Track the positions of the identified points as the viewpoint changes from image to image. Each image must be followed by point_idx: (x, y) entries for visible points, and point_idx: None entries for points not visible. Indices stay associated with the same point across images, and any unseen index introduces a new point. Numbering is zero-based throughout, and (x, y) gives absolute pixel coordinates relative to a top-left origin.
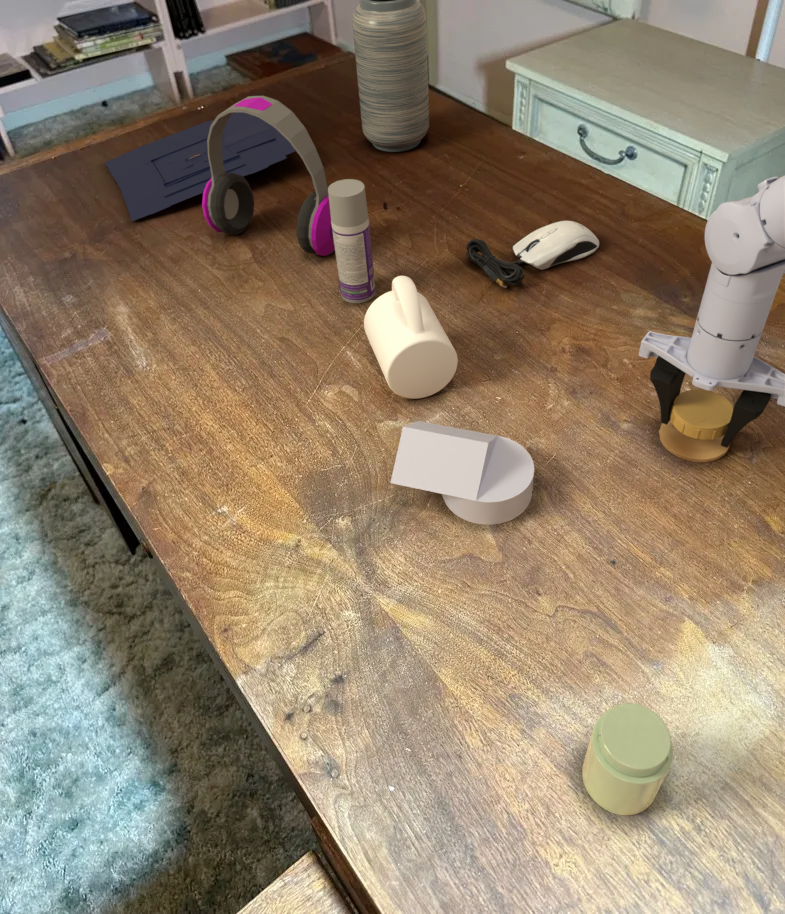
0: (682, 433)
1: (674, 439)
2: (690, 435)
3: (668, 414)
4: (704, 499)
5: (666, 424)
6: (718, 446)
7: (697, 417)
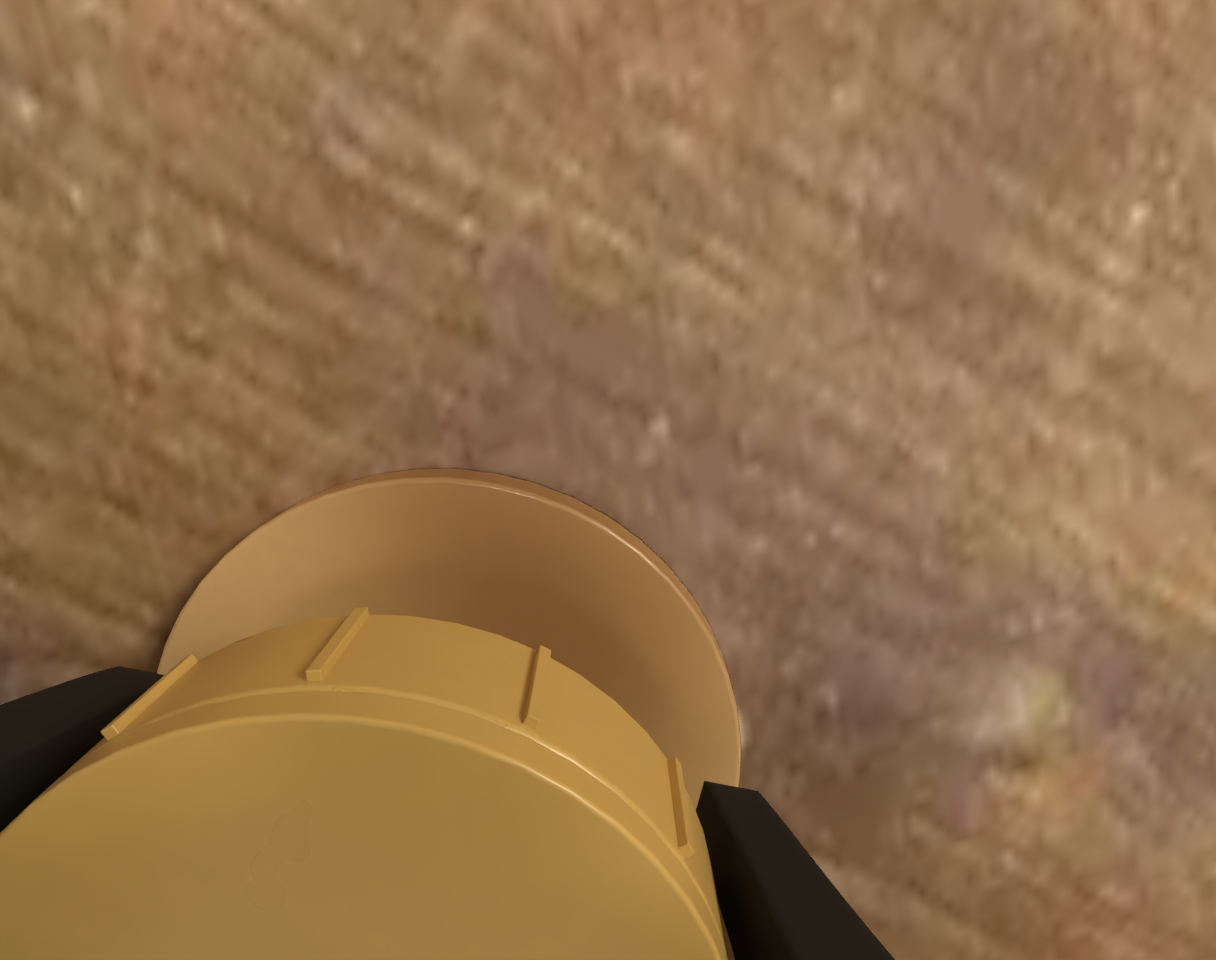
0: None
1: (601, 657)
2: (435, 628)
3: (743, 872)
4: (199, 19)
5: (709, 783)
6: None
7: (372, 893)
